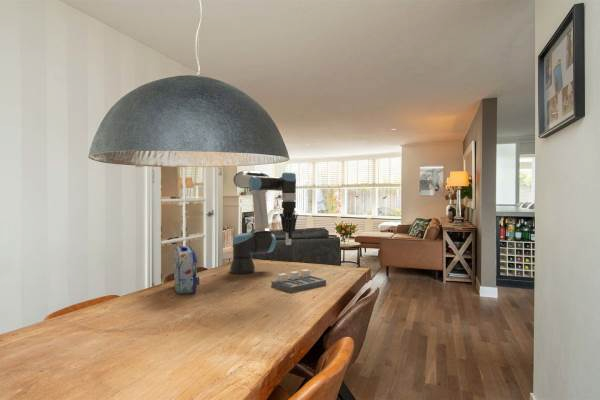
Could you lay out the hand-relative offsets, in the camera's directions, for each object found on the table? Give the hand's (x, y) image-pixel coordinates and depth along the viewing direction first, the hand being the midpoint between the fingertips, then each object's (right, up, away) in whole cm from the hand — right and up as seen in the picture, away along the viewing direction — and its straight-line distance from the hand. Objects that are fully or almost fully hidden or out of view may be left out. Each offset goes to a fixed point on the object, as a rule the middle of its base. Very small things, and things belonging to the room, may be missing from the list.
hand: (288, 244), depth 189 cm
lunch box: (-50, -20, -17) cm, 57 cm away
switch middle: (+3, -18, -4) cm, 18 cm away
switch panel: (+6, -21, -7) cm, 22 cm away
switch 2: (+9, -18, +1) cm, 20 cm away
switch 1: (-3, -18, -9) cm, 20 cm away
